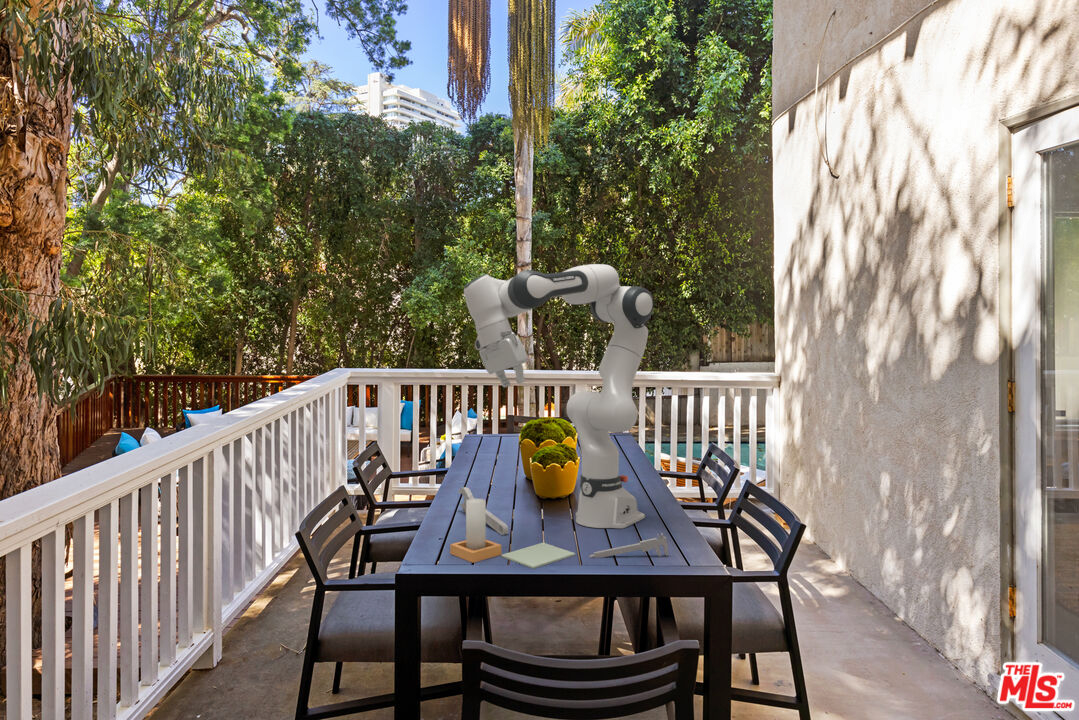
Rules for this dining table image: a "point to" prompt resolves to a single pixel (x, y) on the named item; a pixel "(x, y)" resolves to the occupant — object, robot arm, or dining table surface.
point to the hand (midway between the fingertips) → (514, 384)
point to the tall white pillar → (475, 524)
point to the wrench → (490, 518)
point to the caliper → (636, 547)
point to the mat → (538, 555)
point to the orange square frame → (477, 555)
